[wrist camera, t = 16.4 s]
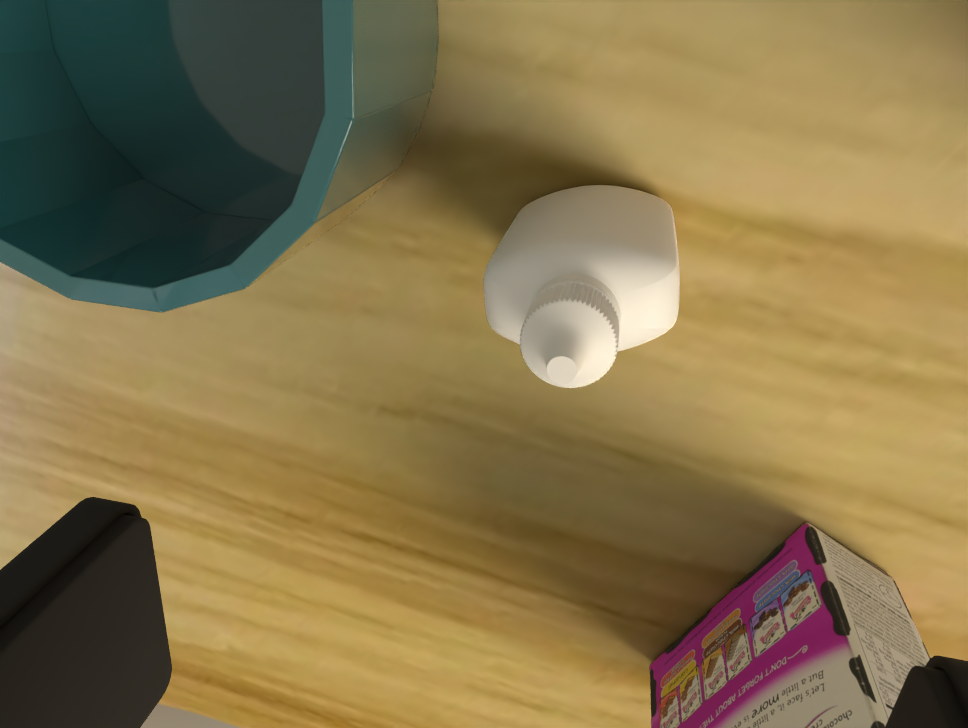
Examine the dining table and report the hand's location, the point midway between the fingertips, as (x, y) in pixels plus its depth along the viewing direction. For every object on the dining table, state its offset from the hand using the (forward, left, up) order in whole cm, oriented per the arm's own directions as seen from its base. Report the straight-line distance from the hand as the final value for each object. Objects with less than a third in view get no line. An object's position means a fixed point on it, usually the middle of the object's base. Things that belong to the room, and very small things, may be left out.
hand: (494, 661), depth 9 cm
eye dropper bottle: (0, 0, -21) cm, 21 cm away
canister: (-6, -14, -21) cm, 26 cm away
